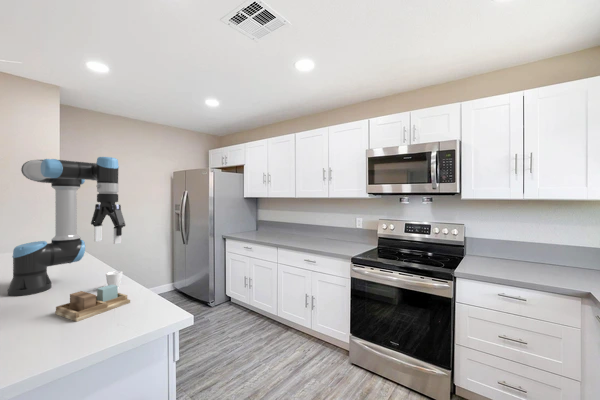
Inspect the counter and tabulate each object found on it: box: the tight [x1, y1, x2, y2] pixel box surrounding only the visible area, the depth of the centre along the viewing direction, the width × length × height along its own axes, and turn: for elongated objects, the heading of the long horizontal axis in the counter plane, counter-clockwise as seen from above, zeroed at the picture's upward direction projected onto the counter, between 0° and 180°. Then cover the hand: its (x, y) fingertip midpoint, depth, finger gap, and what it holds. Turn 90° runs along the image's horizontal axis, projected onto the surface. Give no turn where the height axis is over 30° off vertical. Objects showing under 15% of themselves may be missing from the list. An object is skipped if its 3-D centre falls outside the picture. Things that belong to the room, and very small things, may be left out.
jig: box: [54, 292, 131, 323], centre depth 111 cm, size 15×20×3 cm
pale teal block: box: [96, 285, 119, 302], centre depth 116 cm, size 4×6×6 cm, turn 155°
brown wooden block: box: [69, 290, 97, 312], centre depth 107 cm, size 10×4×6 cm, turn 66°
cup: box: [105, 270, 123, 290], centre depth 136 cm, size 7×10×8 cm
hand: (107, 242), depth 115 cm, fingers open, 13 cm apart
